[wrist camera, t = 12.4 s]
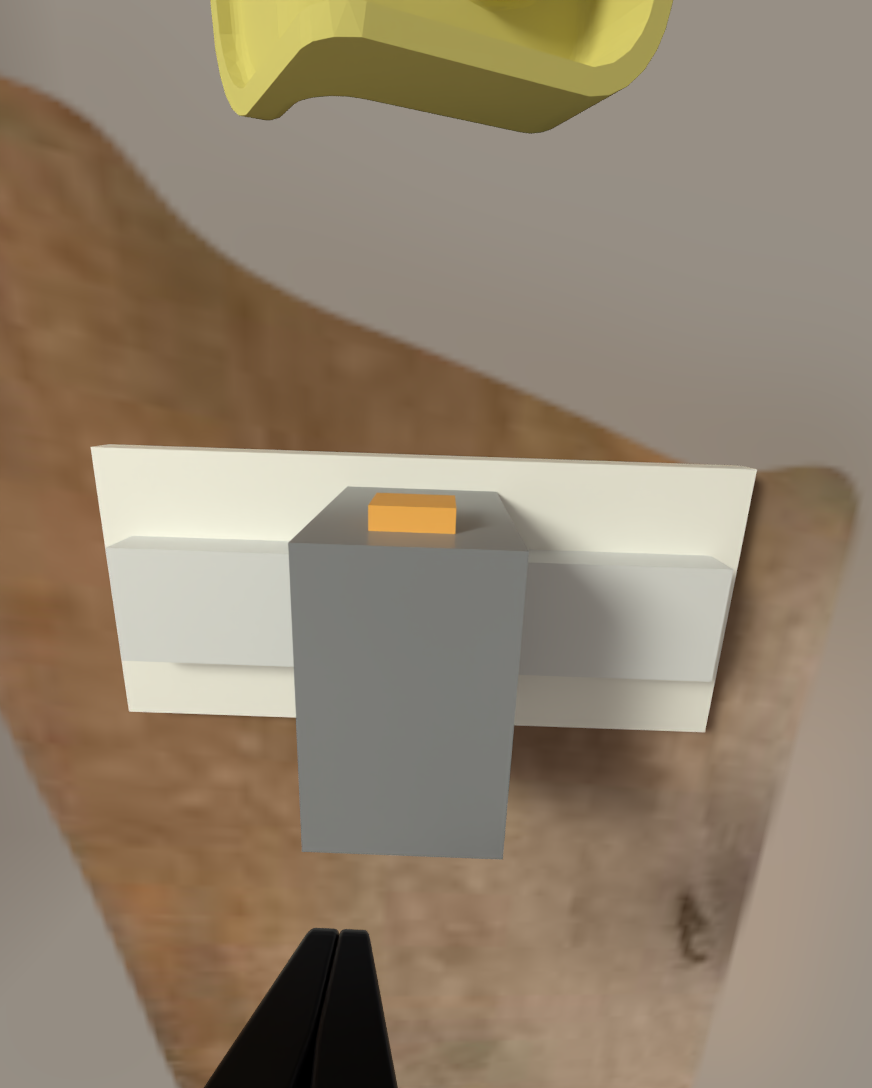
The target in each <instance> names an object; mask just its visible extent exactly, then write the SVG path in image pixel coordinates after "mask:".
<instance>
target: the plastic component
mask: <svg viewBox="0 0 872 1088" xmlns="http://www.w3.org/2000/svg"><path fill="white" fill-rule="evenodd" d="M210 1H211V9H212V21H213V29H214V40H215V50H216V55H217V61H218V66H219V71H220V77H221V80H222V83H223V87H224V91H225V94H226V97H227V99H228V101H229V103H230V105H231V107H232V109H233V110H234V111H235V112H236V113H237V114H238V115H240V116H245V117H251V118H256V119H262V120H273V119H276V118H280V117H281V116H282V115H283V114H284V113H285V112H286V111H287V110H288V109H289V108H290V107H291V106H293V105H294V104H295V103H297V102H298V101H301V100H305V99H308V98H313V97H323V96H348V97H355V98H362V99H367V100H372V101H376V102H381V103H386V104H391V105H395V106H400V107H405V108H409V109H414V110H419V111H423V112H428V113H433V114H437V115H442V116H447V117H452V118H457V119H461V120H466V121H470V122H475V123H480V124H485V125H489V126H494V127H498V128H503V129H508V130H513V131H517V132H523V133H540V132H544V131H547V130H550V129H552V128H554V127H556V126H558V125H559V124H561V123H563V122H565V121H567V120H568V119H570V118H572V117H574V116H576V115H577V114H579V113H581V112H583V111H584V110H586V109H588V108H590V107H591V106H593V105H595V104H597V103H599V102H600V101H602V100H604V99H606V98H607V97H609V96H611V95H613V94H614V93H616V92H618V91H620V90H622V89H623V88H625V87H627V86H628V85H629V84H630V83H631V82H632V81H633V80H635V79H636V78H637V77H638V76H639V75H640V74H641V73H642V72H643V71H644V70H645V68H646V67H647V65H648V63H649V62H650V60H651V59H652V57H653V56H654V54H655V52H656V51H657V49H658V46H659V44H660V42H661V39H662V37H663V34H664V32H665V29H666V25H667V21H668V18H669V14H670V10H671V7H672V3H673V0H210Z"/></svg>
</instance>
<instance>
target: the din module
mask: <svg viewBox="0 0 872 1088" xmlns="http://www.w3.org/2000/svg"><path fill="white" fill-rule="evenodd" d="M288 551H289V573H290V596H291V618H292V640H293V662H294V685H295V707H296V729H297V751H298V774H299V796H300V818H301V841H302V852H324V853H350V854H375V855H401V856H427V857H453V858H479V859H503V850H504V838H505V826H506V815H507V803H508V791H509V779H510V767H511V756H512V744H513V732H514V720H515V709H516V697H517V685H518V673H519V662H520V650H521V638H522V626H523V615H524V603H525V591H526V579H527V568H528V556H529V551H528V549H527V547H526V545H525V543H524V541H523V540H522V538H521V536H520V534H519V532H518V530H517V529H516V527H515V525H514V523H513V521H512V519H511V518H510V516H509V514H508V512H507V510H506V508H505V506H504V505H503V503H502V501H501V499H500V497H499V495H498V494H497V492H493V491H465V490H437V489H408V488H380V487H352V486H347V487H346V488H345V489H344V490H343V491H342V492H341V493H340V494H339V495H338V496H337V497H336V498H335V499H334V500H333V501H331V502H330V503H329V504H328V505H327V506H326V507H325V508H324V509H323V510H322V511H321V512H320V513H319V514H318V515H317V516H316V517H315V518H314V519H313V520H311V521H310V522H309V523H308V524H307V525H306V526H305V527H304V528H303V529H302V530H301V531H300V532H299V533H298V534H297V535H296V536H295V537H294V538H293V539H291V540H290V541H289V542H288Z"/></svg>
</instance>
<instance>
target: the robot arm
mask: <svg viewBox="0 0 872 1088" xmlns="http://www.w3.org/2000/svg"><path fill="white" fill-rule="evenodd" d="M204 1088H398V1086H397V1081H396V1076H395V1070H394V1065H393V1060H392V1054H391V1049H390V1044H389V1038H388V1033H387V1028H386V1022H385V1017H384V1011H383V1006H382V1001H381V995H380V990H379V985H378V979H377V974H376V969H375V963H374V958H373V953H372V947H371V942H370V937H369V934H368V932H367V931H366V930H353V929H344V930H342V931H341V932H340V934H339V932H338V930H337V929H329V928H313V929H311V930H310V931H309V932H308V933H307V934H306V936H305V937H304V938H303V940H302V941H301V943H300V944H299V946H298V947H297V949H296V950H295V952H294V953H293V955H292V956H291V958H290V959H289V961H288V962H287V964H286V965H285V967H284V968H283V970H282V971H281V973H280V974H279V976H278V977H277V979H276V980H275V982H274V983H273V985H272V986H271V988H270V989H269V991H268V992H267V994H266V995H265V997H264V998H263V1000H262V1001H261V1003H260V1004H259V1006H258V1007H257V1009H256V1010H255V1012H254V1013H253V1015H252V1016H251V1018H250V1019H249V1021H248V1022H247V1024H246V1025H245V1027H244V1028H243V1030H242V1031H241V1033H240V1034H239V1036H238V1037H237V1039H236V1040H235V1042H234V1043H233V1045H232V1046H231V1048H230V1049H229V1051H228V1052H227V1054H226V1055H225V1057H224V1058H223V1060H222V1061H221V1063H220V1064H219V1066H218V1067H217V1069H216V1070H215V1072H214V1073H213V1075H212V1076H211V1078H210V1079H209V1081H208V1082H207V1084H206V1085H205V1087H204Z"/></svg>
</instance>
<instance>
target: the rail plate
mask: <svg viewBox="0 0 872 1088" xmlns="http://www.w3.org/2000/svg"><path fill="white" fill-rule="evenodd" d="M91 452H92V459H93V466H94V473H95V480H96V487H97V494H98V501H99V508H100V514H101V521H102V528H103V535H104V542H105V549H106V556H107V563H108V570H109V576H110V583H111V590H112V597H113V604H114V611H115V618H116V625H117V632H118V638H119V645H120V652H121V659H122V666H123V673H124V680H125V687H126V694H127V700H128V707H129V711H132V712H160V713H187V714H215V715H242V716H270V717H296V707H295V685H294V662H293V640H292V618H291V596H290V573H289V551H288V542H289V541H290V540H291V539H293V538H294V537H295V536H296V535H297V534H298V533H299V532H300V531H301V530H302V529H303V528H304V527H305V526H306V525H307V524H308V523H309V522H310V521H311V520H313V519H314V518H315V517H316V516H317V515H318V514H319V513H320V512H321V511H322V510H323V509H324V508H325V507H326V506H327V505H328V504H329V503H330V502H331V501H333V500H334V499H335V498H336V497H337V496H338V495H339V494H340V493H341V492H342V491H343V490H344V489H345V488H346V487H347V486H352V487H380V488H408V489H437V490H465V491H493V492H497V494H498V495H499V497H500V499H501V501H502V503H503V505H504V506H505V508H506V510H507V512H508V514H509V516H510V518H511V519H512V521H513V523H514V525H515V527H516V529H517V530H518V532H519V534H520V536H521V538H522V540H523V541H524V543H525V545H526V547H527V549H528V551H529V556H528V568H527V579H526V591H525V603H524V615H523V626H522V638H521V650H520V662H519V673H518V685H517V697H516V709H515V720H514V725H518V726H546V727H573V728H601V729H628V730H656V731H684V732H705V729H706V724H707V719H708V714H709V709H710V704H711V699H712V694H713V689H714V684H715V679H716V674H717V669H718V664H719V659H720V654H721V649H722V644H723V638H724V633H725V628H726V623H727V618H728V613H729V608H730V603H731V598H732V593H733V588H734V583H735V578H736V573H737V568H738V563H739V558H740V553H741V548H742V543H743V537H744V532H745V527H746V522H747V517H748V512H749V507H750V502H751V497H752V492H753V487H754V482H755V477H756V472H757V469H752V468H748V467H744V466H735V465H706V464H677V463H647V462H617V461H588V460H558V459H528V458H499V457H469V456H439V455H410V454H380V453H351V452H321V451H291V450H262V449H232V448H202V447H173V446H143V445H114V444H108V445H101V446H95V447H91Z"/></svg>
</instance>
